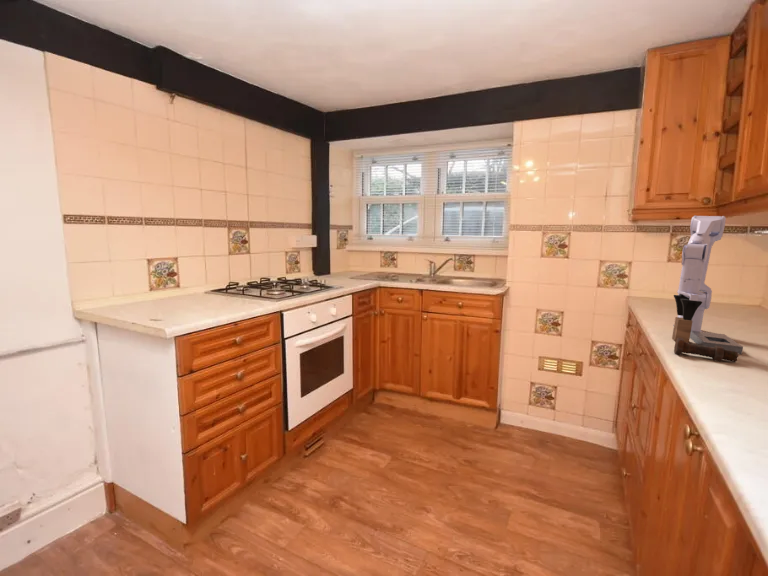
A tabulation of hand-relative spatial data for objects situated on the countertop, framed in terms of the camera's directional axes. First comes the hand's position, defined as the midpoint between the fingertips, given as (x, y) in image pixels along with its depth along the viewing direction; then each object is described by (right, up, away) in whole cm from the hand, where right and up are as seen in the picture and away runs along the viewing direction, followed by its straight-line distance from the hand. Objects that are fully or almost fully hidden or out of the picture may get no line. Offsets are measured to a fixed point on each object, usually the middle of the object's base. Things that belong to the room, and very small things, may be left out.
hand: (684, 317), depth 139 cm
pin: (0, -8, +2) cm, 9 cm away
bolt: (-6, -12, -16) cm, 21 cm away
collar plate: (+8, -9, -2) cm, 13 cm away
